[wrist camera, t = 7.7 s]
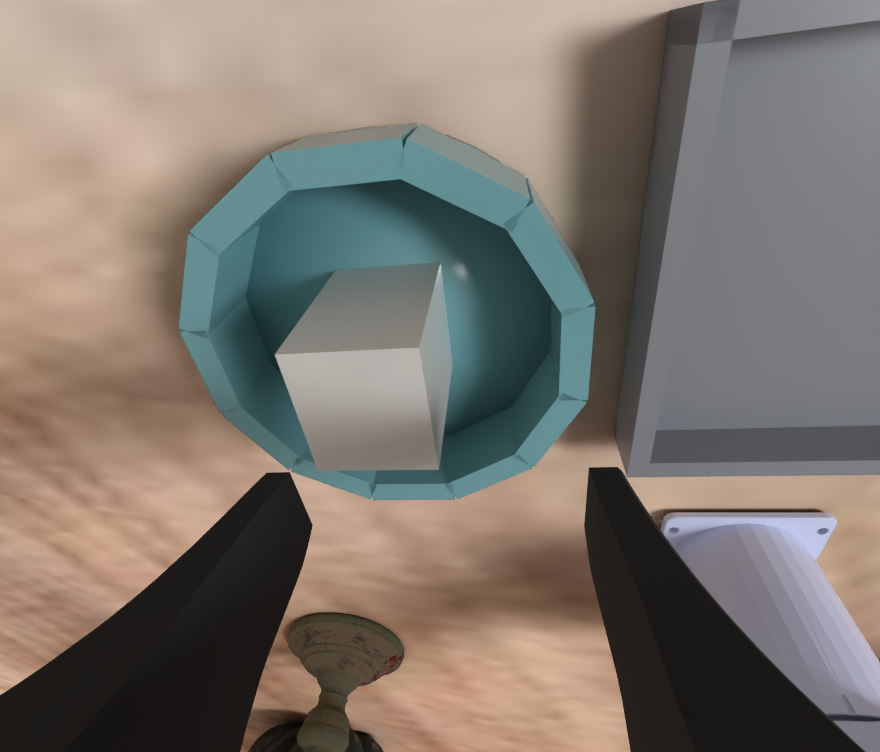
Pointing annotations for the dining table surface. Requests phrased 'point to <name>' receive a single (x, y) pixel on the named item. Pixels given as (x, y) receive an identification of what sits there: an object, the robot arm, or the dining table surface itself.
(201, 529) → the dining table surface
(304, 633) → the candlestick holder
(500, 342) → the bowl
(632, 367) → the parts tray
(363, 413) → the gray rectangular block
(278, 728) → the squash
